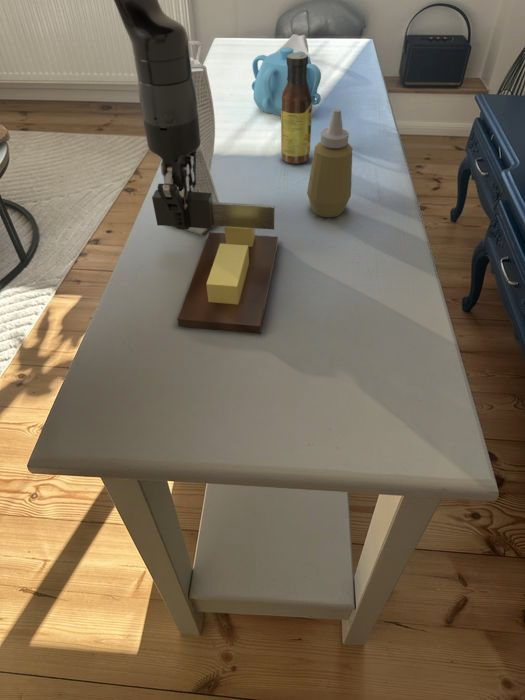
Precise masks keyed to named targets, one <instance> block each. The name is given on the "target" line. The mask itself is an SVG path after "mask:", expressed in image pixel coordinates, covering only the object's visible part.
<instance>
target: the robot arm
mask: <svg viewBox="0 0 525 700" xmlns="http://www.w3.org/2000/svg"><path fill="white" fill-rule="evenodd" d="M113 2H114V3H115V7H116V9H117V11H118V14H119V16H120V20H121V22H122V24H123V27H124V29H125V31H126V33H127V36H128V38H129V40H130V44H131V47H132V54H133V59H134V60H133V61H134V64H135V65H134V66H135V69H136V70H135V71H136V77H137V84H138V98H139V104H140V110H141V115H142V121H143V127H144V132H145V137H146V142H147V143H146V144H147V147H148V150H149V151H150V152H152V153H153V154H154V155H157V156H158V157H160V159H161V163H160V172H161V176H162V177H163V183H158V184H157V190H158V192H159V194H160V196H161V198H162V201H163V203H164V205H165V207H166V209H167V211H173V212H174V218H175V224H176V227H175V228H176V229H178V230H184V229H186V230H185V231H187V229H189V227H190V220H189V212H188V203H187V194H188V193H189V192H194V191H193V187H195V185H196V150H197V149H198V148H199V146H200V143H201V140H200V130H199V120H198V111H197V100H196V92H195V87H194V83H193V78H192V69H191V60H190V57H191V52H190V51H191V50H190V45H189V42H188V41H189V36H188V33H187V29H186V28H185V26H184V25H183V24H182V23H180V22H179V21H177V20H176V19H173V18H172V17H170V16H169V15H167V14H166V13H165V12H164V11H163V8H162V7H161V4H160V2H159V0H113ZM188 175H189V176H188ZM181 197H182V198H181Z"/></svg>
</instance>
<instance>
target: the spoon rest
mask: <svg viewBox="0 0 525 700" xmlns="http://www.w3.org/2000/svg"><path fill="white" fill-rule="evenodd" d="M284 47H289V48H292V49H293V52H296V53H297V52H299V51H302V52H304V53H305V54H307V55H308V57H309V58H310V59H311V56H310V53H309V44H308V39H307V37H306V35H305V34H301V35H298V34H296V33H294V34H292V35H291V37H289V38H288V40H287V41H286V42H285V43H284V44H283V45H281V47H279V48H278V50H276V51H275V52H274V53H276V52H280V49H281V48H284Z"/></svg>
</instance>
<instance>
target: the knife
mask: <svg viewBox="0 0 525 700" xmlns="http://www.w3.org/2000/svg"><path fill="white" fill-rule="evenodd" d="M181 198H182V197H181ZM151 200H152V205H153V210H154V216H155V219H156V220H155V221H156V225H157V226H161V227H163V226H164V227H174V226H176V224H175V218H174V212H173V211H167V209H166V207H165V205H164V203H163V201H162V198H161V196H160V194H159V192H158V189H155V191H154V193H153V195H152V197H151ZM187 203H188V212H189V220H190V227H191V228H206V229H208V230H212V228H213V227H225V226H226V227H242V228H255V229H257V230H260V229H261V230H275V228H276V227H275V223H276V222H275V221H276V219H275V217H276V215H275V214H276V213H275V212H276V210H275V209H276V206H275V205H269V204H268V205H267V204H253V203H236V202H220V201H219V202H213V200H212V193H203V192H189V193H188V194H187Z"/></svg>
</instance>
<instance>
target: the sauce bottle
mask: <svg viewBox="0 0 525 700" xmlns="http://www.w3.org/2000/svg"><path fill="white" fill-rule="evenodd" d="M307 64H308V55H307V54H304V53H292V54H289V55H287V66H288V77H287V81H288V82H287V85H286V86H285V88H284V90H283V92H282V108H281V115H280V142H281V143H280V152H281V159H282V161H284V162H285V163H287V164H290V165H291V164H292V165H299V164H304V163H306V162H307V161H309V158H310V152H311V139H312V137H311V136H312V119H313V117H312V115H313V114H312V113H313V104H312V98H311V94H310V90H309V86H308V82H307Z"/></svg>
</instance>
